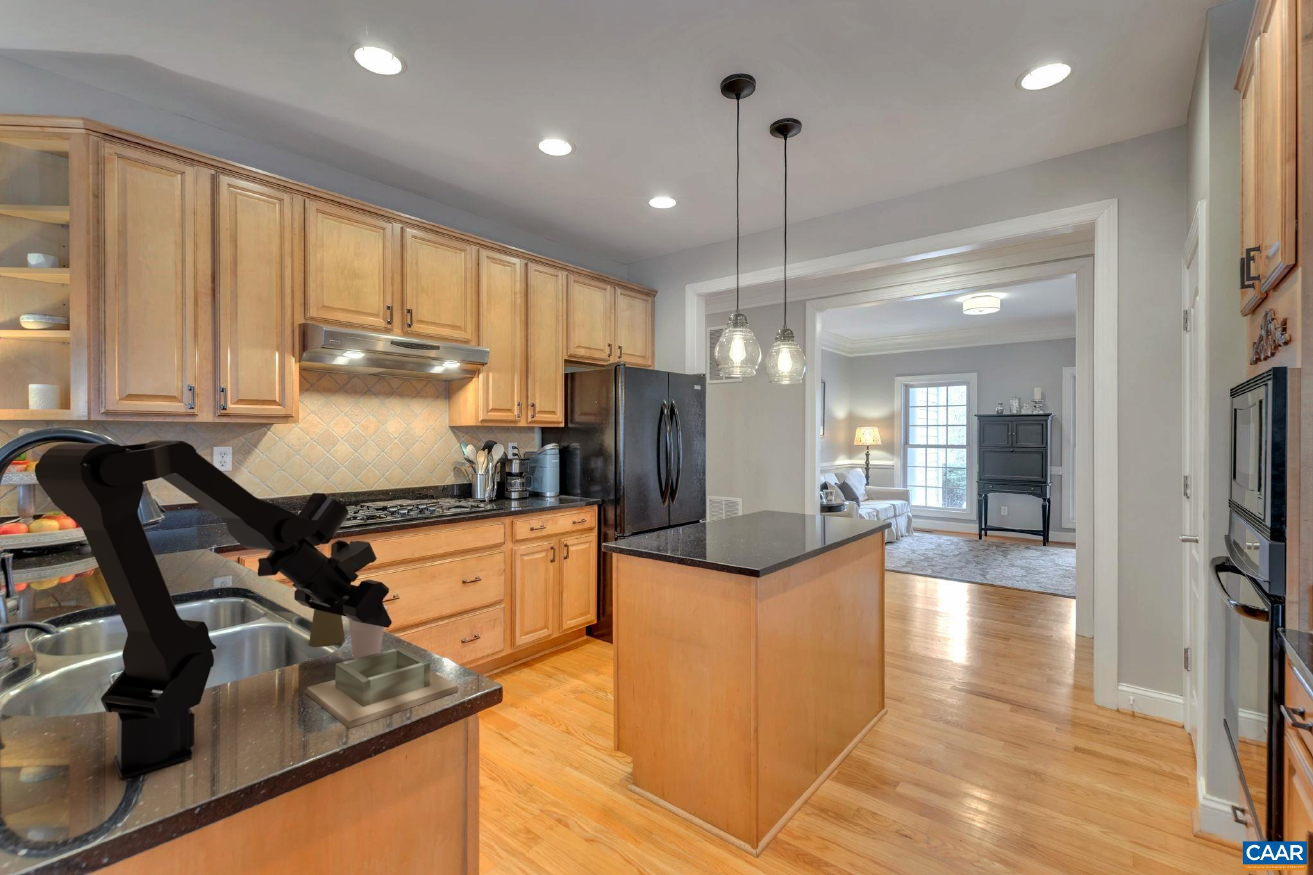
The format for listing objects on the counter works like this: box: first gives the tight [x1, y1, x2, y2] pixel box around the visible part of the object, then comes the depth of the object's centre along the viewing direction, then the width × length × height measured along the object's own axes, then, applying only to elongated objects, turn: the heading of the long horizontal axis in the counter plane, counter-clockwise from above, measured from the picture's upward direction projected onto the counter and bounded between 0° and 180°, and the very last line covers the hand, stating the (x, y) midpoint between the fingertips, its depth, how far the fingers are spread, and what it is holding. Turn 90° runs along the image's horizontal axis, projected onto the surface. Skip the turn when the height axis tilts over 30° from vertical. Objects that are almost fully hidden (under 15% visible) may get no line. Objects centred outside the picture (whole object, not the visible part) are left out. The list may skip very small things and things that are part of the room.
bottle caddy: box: [306, 647, 459, 729], centre depth 92 cm, size 16×16×4 cm
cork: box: [308, 609, 346, 648], centre depth 115 cm, size 6×6×11 cm
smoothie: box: [345, 604, 389, 659], centre depth 103 cm, size 6×6×14 cm
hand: (373, 620), depth 104 cm, fingers open, 9 cm apart
